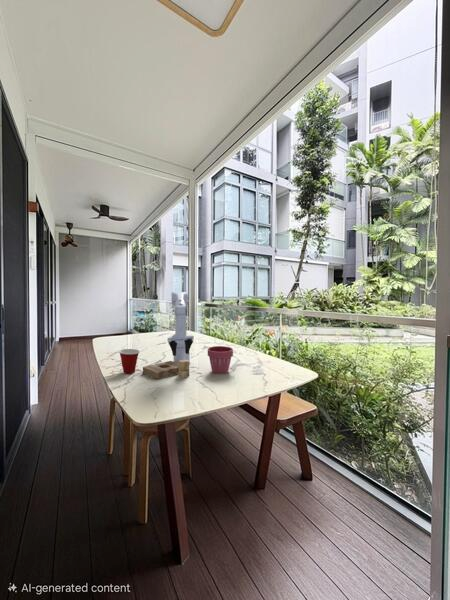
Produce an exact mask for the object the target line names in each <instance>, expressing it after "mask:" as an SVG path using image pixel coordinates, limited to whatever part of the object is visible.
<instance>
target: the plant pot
mask: <svg viewBox="0 0 450 600" xmlns="http://www.w3.org/2000/svg"><path fill="white" fill-rule="evenodd" d="M233 356H234V349H233V348H232V347H229V346H223V345H220V346H219V345H217V346H210V347H208V348H207V357H209V362H210V368H211V373H213V374H216V375H217V374H219V375H221V374H227V373H228V372H229V369H230V365H231V361H232V360H231V359H232V357H233Z"/></svg>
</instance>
